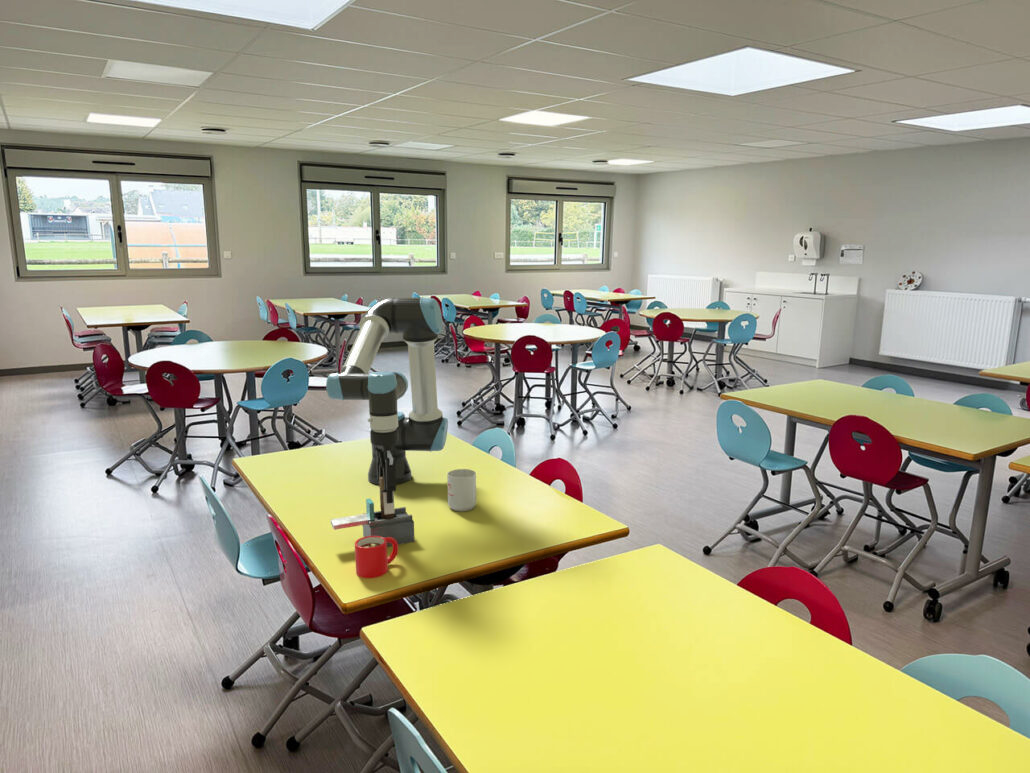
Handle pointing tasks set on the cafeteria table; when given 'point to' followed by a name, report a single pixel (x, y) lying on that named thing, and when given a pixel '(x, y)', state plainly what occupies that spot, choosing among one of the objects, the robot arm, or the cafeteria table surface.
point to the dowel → (383, 501)
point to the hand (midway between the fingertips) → (387, 510)
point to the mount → (392, 527)
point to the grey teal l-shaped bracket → (355, 518)
